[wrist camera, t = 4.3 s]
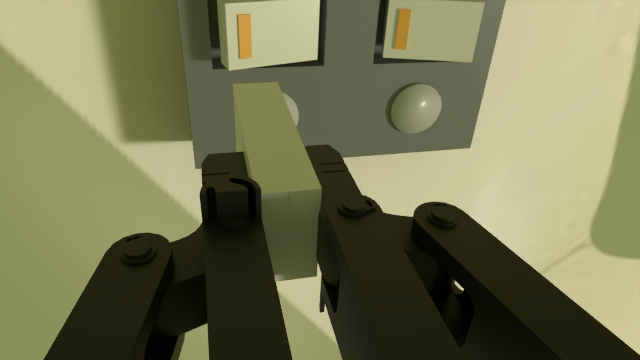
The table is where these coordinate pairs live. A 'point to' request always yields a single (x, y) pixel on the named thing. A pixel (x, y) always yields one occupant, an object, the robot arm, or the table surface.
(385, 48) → the rocker
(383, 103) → the switch panel
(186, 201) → the table surface
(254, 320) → the robot arm
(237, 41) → the pale rectangular block
